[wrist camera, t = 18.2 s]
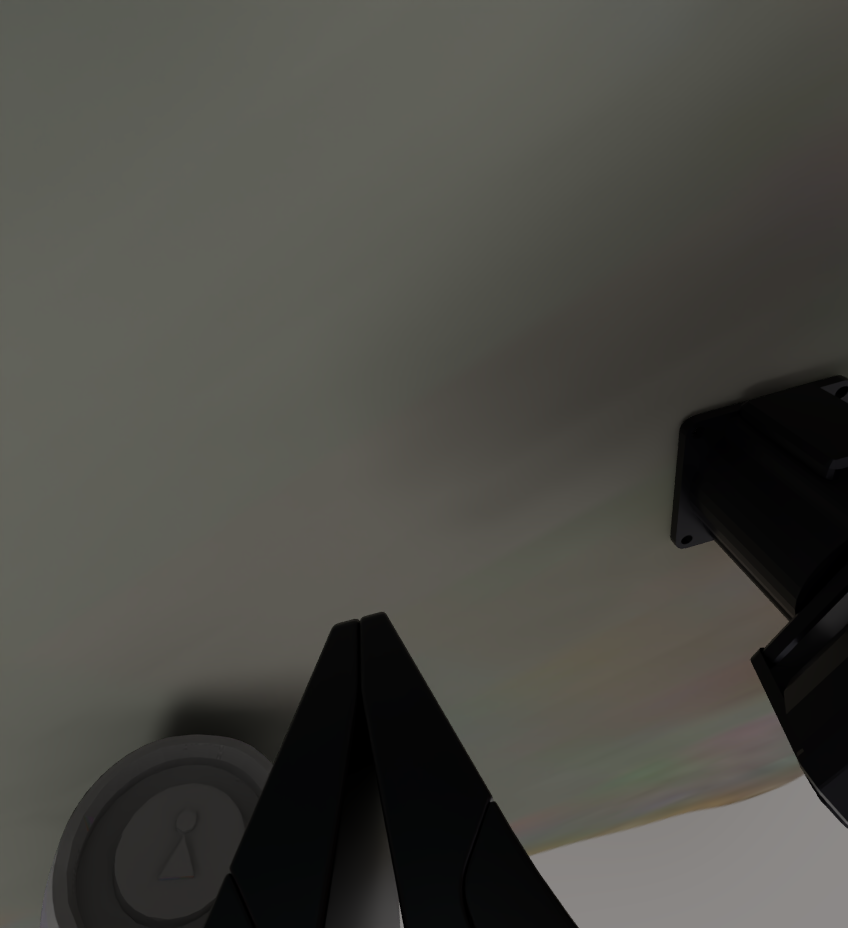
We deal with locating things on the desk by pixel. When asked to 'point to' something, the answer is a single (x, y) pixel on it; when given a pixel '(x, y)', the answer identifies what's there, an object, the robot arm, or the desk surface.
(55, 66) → the desk surface
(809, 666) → the robot arm
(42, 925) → the bluetooth speaker
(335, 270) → the desk surface
